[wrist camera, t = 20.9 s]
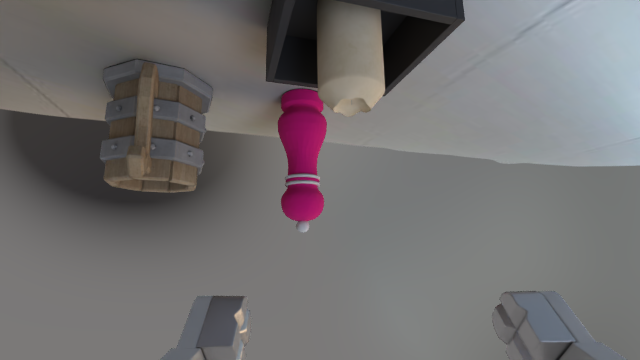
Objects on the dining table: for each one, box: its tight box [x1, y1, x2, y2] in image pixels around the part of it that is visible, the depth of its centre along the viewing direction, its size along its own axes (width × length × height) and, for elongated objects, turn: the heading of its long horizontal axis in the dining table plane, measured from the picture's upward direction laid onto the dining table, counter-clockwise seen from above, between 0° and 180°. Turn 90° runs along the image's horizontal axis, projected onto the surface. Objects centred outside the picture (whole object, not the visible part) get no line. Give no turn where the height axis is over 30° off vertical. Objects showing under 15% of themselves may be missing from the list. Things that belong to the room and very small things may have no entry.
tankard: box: [100, 59, 213, 193], centre depth 38 cm, size 20×13×15 cm, turn 156°
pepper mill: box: [278, 89, 327, 233], centre depth 45 cm, size 7×7×20 cm
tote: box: [266, 0, 465, 96], centre depth 27 cm, size 13×12×6 cm
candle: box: [317, 0, 385, 117], centre depth 26 cm, size 6×6×10 cm
